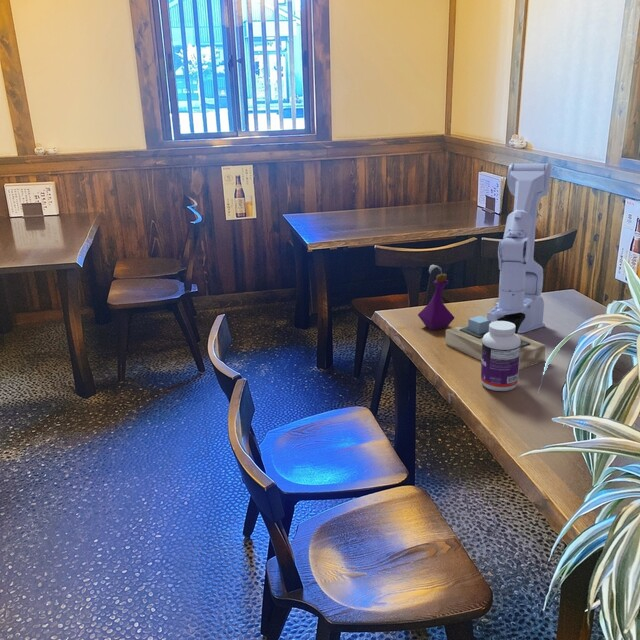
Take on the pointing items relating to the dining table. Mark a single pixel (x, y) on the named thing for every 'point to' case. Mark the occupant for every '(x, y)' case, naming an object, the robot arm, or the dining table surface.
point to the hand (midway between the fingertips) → (508, 341)
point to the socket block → (473, 345)
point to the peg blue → (478, 325)
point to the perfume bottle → (437, 306)
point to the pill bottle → (500, 357)
